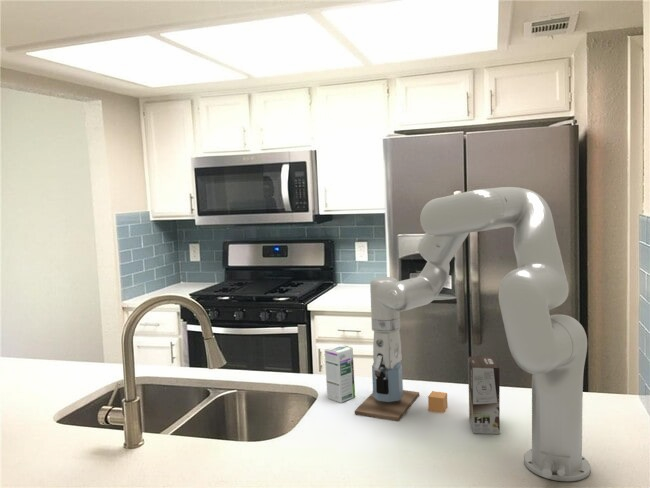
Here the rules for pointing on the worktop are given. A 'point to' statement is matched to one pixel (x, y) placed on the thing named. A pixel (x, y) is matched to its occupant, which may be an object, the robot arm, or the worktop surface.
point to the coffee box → (484, 394)
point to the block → (437, 402)
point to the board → (387, 407)
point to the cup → (390, 384)
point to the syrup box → (340, 373)
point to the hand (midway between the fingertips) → (387, 387)
